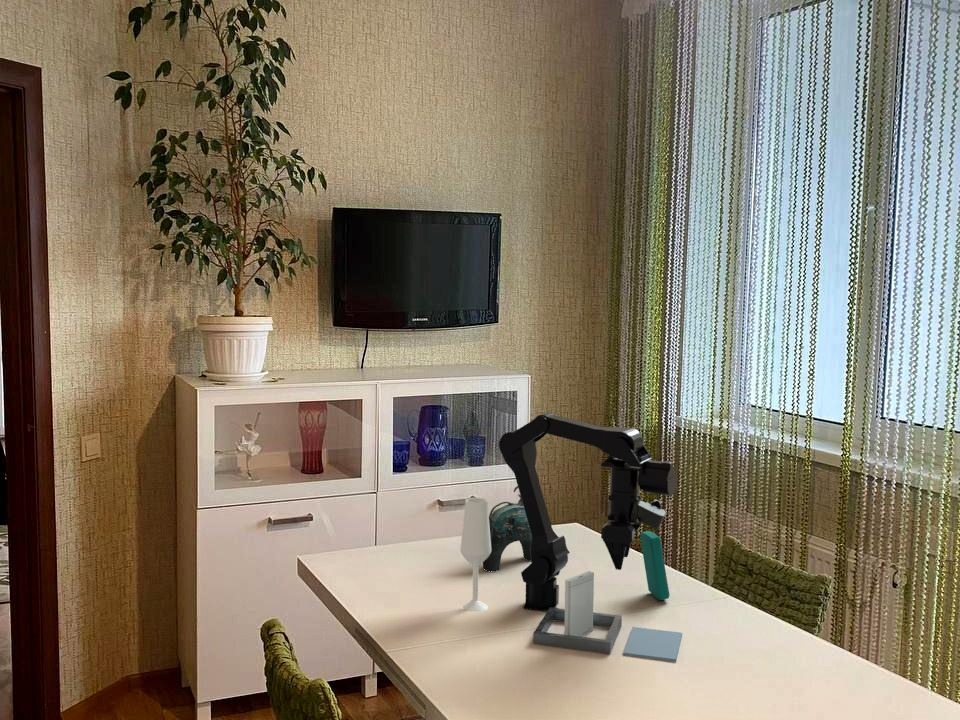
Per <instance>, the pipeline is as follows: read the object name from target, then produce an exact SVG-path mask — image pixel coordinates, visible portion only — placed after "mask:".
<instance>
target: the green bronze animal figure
mask: <svg viewBox="0 0 960 720" xmlns="http://www.w3.org/2000/svg"><path fill="white" fill-rule="evenodd" d="M518 489H519V488H518V485H517V486H515V487H514V489H513V493H516V491H517V490H518ZM517 496H518V497H519V498H520V499H519V500H518V501H517V502H516V503H513V502H509V501H502V502H500V503H498V504H496V505H495V506H493V507H492V508H491V510H490V512H489V525H490V538H491V553H490V555H489V557H488V558H487V559H486V560H485V561H484V562H483V563H482V570H483V569H485V570H487V571H486V572H488V571H490V572H489V573H492V572H491V571H495V572H497V571H496V570H498V571H500V570H499V569H500V565H501V558H502V557H503V556H502V555H503V553H504V551H505V549H506V548H507V547H508V546H509V545H510V544H512V543H515V542H519V543H520V546H521V548H522V554H523V559H524V558H525V559H524V560H526V559H527V560H526V561H529V560H531V554H530V548H531V540H532V535H531V531H530V528H529V524H528V521H527V517H526V514H525V510H524V506H523V503H522V499H521V496H520V493H519V494H517ZM544 501H545V499H544ZM545 502H546V501H545ZM503 504H505V505H503ZM502 505H503V506H502ZM499 506H501V507H499ZM498 507H499V508H498ZM496 508H497V509H496ZM485 570H484V571H485Z"/></svg>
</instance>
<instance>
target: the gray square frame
mask: <svg viewBox="0 0 960 720" xmlns="http://www.w3.org/2000/svg"><path fill="white" fill-rule="evenodd" d="M622 618H623V616H622V615H619V614H612V613H604V612H594V611H593V627H594V626H596V627H604V628H609V630H608V633H607V635H606V637H605V639H603V638H596V637H588V636H582V637H580V636H572V635H564V633H556V632H549V629H550V628H551V626H552V624H553V622H554V621H556V622H564V623H565V608H557V607H555V608H551V607H550V608H549V609H548V611H546V613H545V614H544V616H543V618H542V619H541V620H540V621H539V624H538V625H537V627H536V628H535V630H534V631H533V634H532V636H533V637H532V644H533V645H535V646H536V645H537V646H544V647H551V648H558V649H566V650H574V651H581V652H588V653H595V654H596V653H597V654H603V655H611V653H612V651H613V649H614V646H615V643H616V641H617V639H618V637H619V633H620V632H621V630H622V621H623V620H622Z"/></svg>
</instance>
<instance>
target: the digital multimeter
mask: <svg viewBox="0 0 960 720" xmlns="http://www.w3.org/2000/svg"><path fill="white" fill-rule="evenodd" d="M639 537H640V539H639V540H640V544H641V550H642V557H643V563H644V569H645V576H646V581H647V588H648V591H649V593H650V594H651V595H652V596H653V597H654V598H655V599H657V600H660V601H664V600H666V599H667V600H668V599H670V589H669V583H668V578H667V572H666V566H665V559H664V552H663V544H662V538H661V537H660V536H658V534H656V533H655V532H653V531H651V530H646V531H645V530H644V531H642V532H640V533H639Z"/></svg>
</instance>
